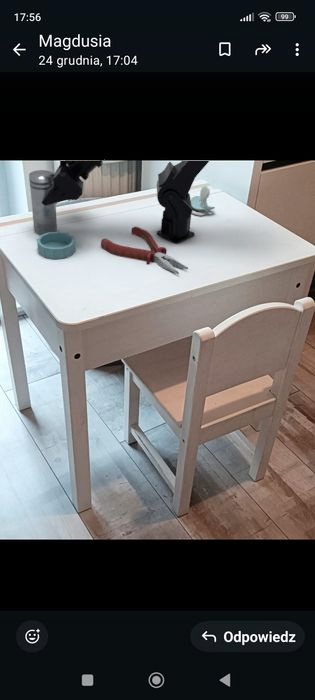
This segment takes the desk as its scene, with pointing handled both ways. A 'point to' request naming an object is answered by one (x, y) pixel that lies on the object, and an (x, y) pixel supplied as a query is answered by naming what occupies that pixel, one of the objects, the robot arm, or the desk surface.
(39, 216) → the piston
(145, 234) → the pliers
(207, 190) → the pacifier
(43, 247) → the ring collar
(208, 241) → the desk surface
